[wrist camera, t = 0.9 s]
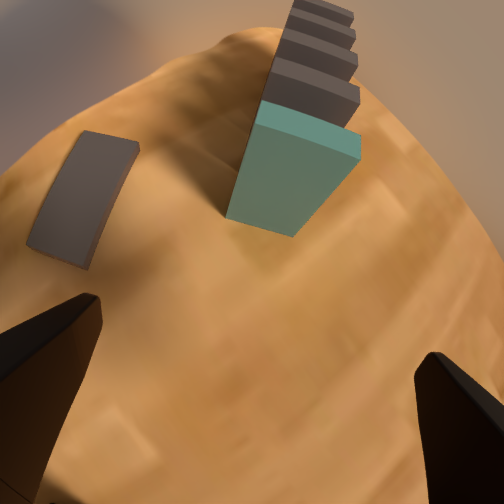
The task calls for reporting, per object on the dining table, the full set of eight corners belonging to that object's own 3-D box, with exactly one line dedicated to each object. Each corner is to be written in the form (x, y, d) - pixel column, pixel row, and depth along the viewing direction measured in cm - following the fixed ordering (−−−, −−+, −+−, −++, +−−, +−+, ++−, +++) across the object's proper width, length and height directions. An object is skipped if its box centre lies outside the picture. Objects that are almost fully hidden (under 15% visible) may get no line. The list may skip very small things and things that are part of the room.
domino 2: (314, 95, 28) (353, 18, 19) (266, 79, 27) (295, -3, 18) (315, 86, 29) (353, 12, 19) (269, 71, 28) (297, -8, 19)
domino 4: (306, 152, 25) (358, 66, 16) (249, 134, 25) (281, 37, 15) (308, 139, 26) (357, 54, 16) (253, 121, 25) (285, 27, 16)
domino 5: (300, 191, 24) (360, 104, 14) (238, 172, 23) (270, 71, 14) (303, 174, 24) (359, 87, 15) (243, 156, 24) (275, 56, 14)
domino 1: (89, 272, 19) (82, 266, 18) (34, 251, 19) (25, 244, 17) (140, 154, 23) (138, 141, 21) (88, 142, 22) (84, 130, 21)
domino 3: (310, 120, 27) (355, 38, 17) (258, 104, 26) (289, 14, 17) (312, 110, 27) (355, 30, 18) (262, 93, 27) (291, 7, 17)
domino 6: (292, 237, 22) (360, 159, 13) (225, 218, 22) (254, 123, 13) (296, 217, 23) (360, 135, 14) (230, 198, 22) (261, 100, 13)
